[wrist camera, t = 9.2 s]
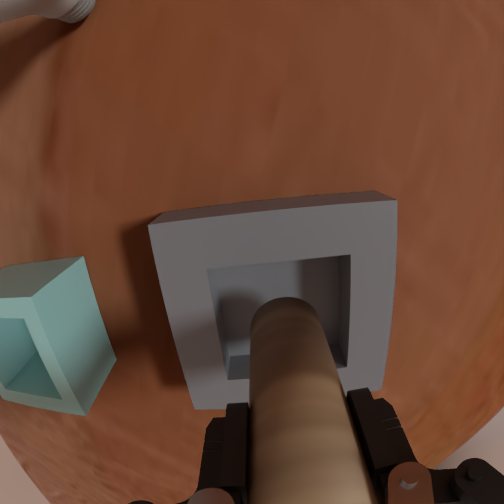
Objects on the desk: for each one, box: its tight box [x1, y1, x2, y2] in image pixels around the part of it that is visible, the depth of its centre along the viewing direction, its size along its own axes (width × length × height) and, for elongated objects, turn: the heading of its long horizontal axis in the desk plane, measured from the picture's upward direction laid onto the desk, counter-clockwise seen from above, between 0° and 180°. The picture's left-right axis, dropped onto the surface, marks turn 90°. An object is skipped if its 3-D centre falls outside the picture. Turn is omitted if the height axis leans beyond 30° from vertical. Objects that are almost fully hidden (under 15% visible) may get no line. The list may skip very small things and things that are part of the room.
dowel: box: [247, 297, 378, 504], centre depth 11 cm, size 4×4×12 cm
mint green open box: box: [0, 256, 117, 416], centre depth 17 cm, size 8×8×6 cm
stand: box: [148, 191, 397, 410], centre depth 18 cm, size 12×12×3 cm
